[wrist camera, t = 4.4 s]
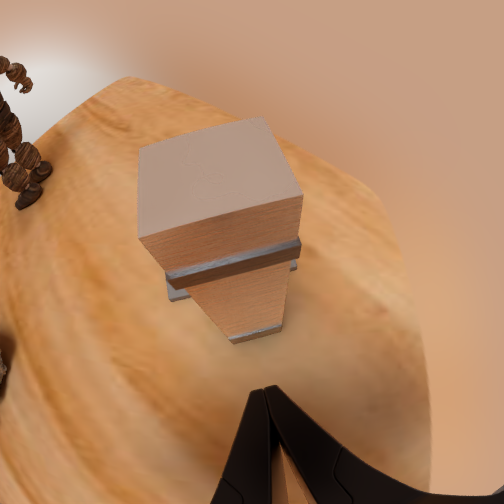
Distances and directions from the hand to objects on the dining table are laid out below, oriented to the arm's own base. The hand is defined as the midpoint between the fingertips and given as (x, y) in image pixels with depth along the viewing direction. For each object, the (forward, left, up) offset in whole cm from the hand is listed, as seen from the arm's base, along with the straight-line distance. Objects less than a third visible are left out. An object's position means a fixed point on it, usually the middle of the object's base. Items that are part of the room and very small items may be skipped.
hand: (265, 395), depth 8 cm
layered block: (+3, -4, -10) cm, 12 cm away
